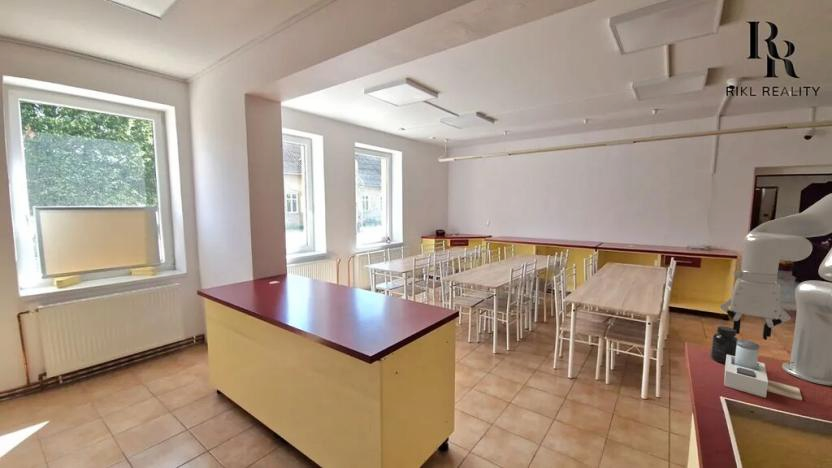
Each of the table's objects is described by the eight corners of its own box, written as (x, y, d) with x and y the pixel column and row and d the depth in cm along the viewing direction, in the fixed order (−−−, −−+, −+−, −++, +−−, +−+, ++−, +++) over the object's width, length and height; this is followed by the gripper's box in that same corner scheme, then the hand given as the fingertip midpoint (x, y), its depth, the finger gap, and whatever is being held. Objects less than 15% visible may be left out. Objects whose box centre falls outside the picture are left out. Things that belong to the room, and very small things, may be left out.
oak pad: (765, 381, 105) (765, 379, 105) (798, 389, 100) (798, 388, 100) (767, 390, 100) (767, 389, 100) (802, 400, 95) (802, 398, 95)
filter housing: (724, 367, 113) (726, 354, 112) (762, 377, 107) (764, 363, 106) (724, 385, 103) (726, 370, 102) (765, 397, 97) (767, 382, 96)
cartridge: (732, 371, 111) (736, 338, 109) (754, 377, 107) (758, 343, 106) (732, 378, 107) (736, 343, 105) (755, 384, 104) (759, 348, 102)
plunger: (737, 377, 104) (738, 367, 104) (752, 381, 102) (753, 371, 101) (737, 382, 102) (738, 371, 101) (753, 386, 99) (754, 375, 99)
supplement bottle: (741, 366, 114) (745, 333, 113) (718, 364, 115) (722, 332, 114) (727, 356, 121) (731, 325, 119) (706, 354, 122) (709, 324, 121)
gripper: (718, 275, 100) (712, 331, 103) (804, 285, 89) (795, 348, 91) (719, 270, 106) (713, 324, 108) (800, 279, 94) (791, 339, 96)
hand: (750, 334), depth 100 cm, fingers open, 5 cm apart
